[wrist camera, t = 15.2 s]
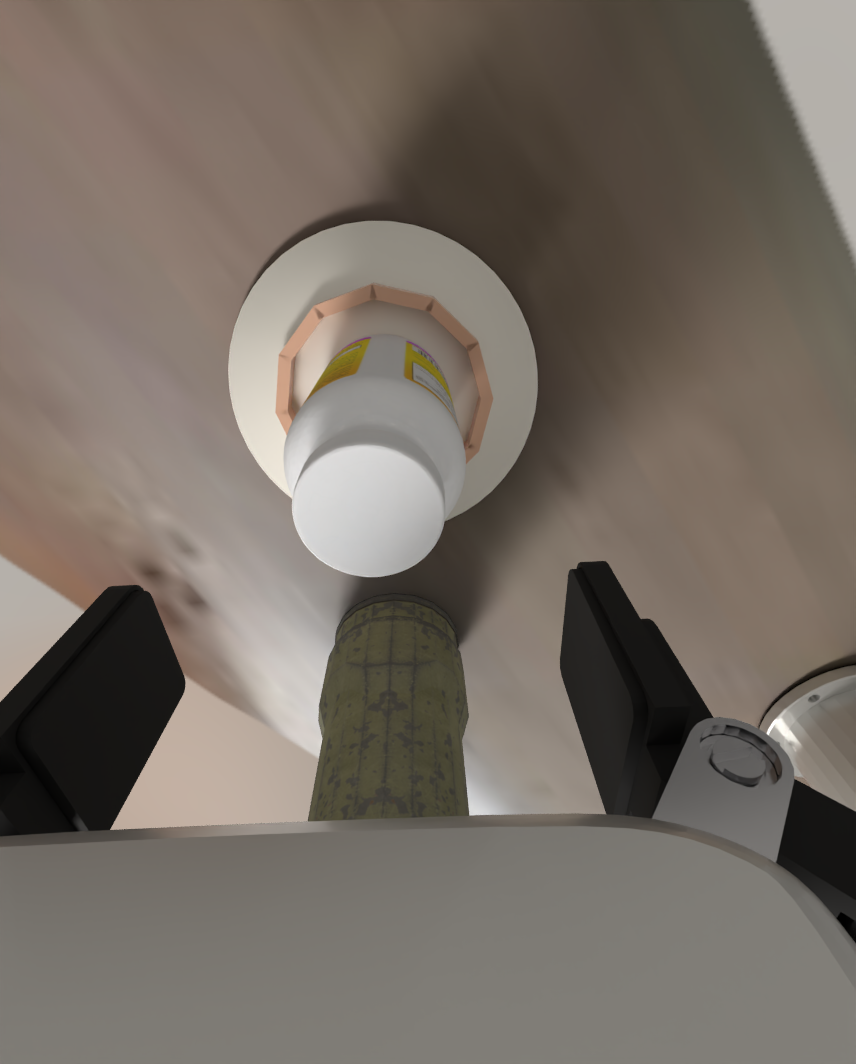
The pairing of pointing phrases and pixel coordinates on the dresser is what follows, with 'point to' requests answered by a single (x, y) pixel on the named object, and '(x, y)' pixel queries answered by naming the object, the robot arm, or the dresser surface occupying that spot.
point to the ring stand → (386, 308)
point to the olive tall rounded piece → (392, 715)
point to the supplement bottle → (375, 458)
